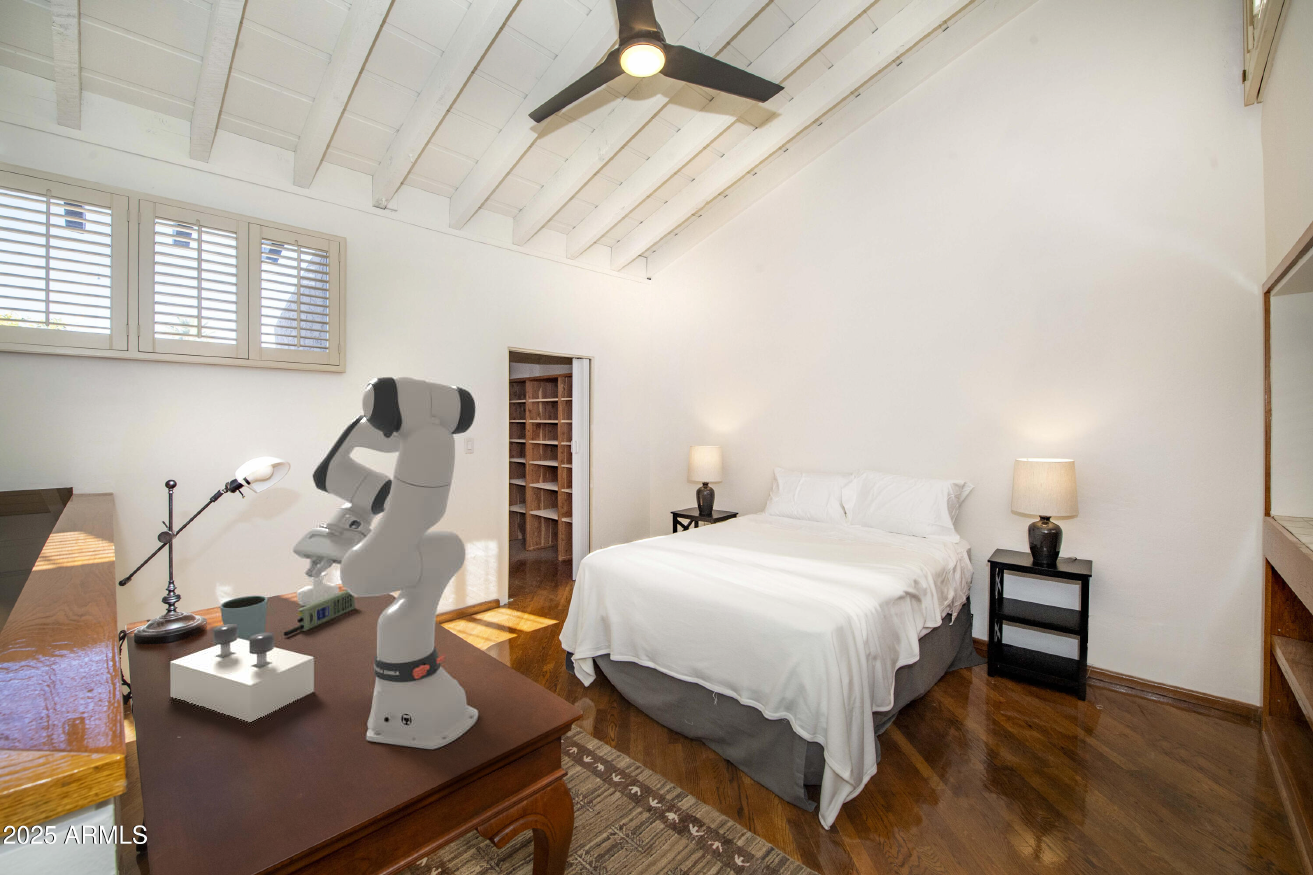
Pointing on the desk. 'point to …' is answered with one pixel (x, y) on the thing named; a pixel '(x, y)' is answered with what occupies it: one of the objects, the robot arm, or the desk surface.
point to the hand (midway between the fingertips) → (310, 575)
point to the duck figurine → (316, 591)
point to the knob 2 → (261, 647)
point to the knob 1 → (225, 638)
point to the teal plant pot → (245, 615)
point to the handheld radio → (323, 611)
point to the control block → (242, 680)
